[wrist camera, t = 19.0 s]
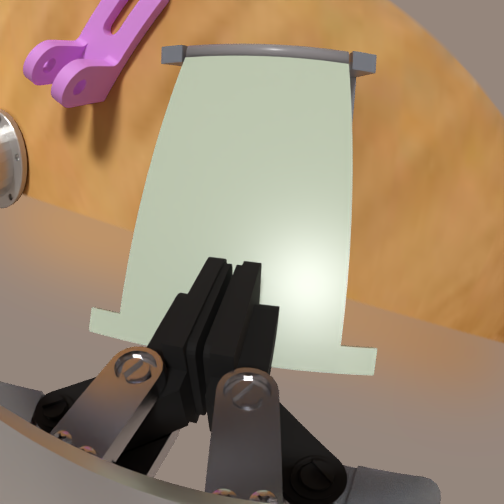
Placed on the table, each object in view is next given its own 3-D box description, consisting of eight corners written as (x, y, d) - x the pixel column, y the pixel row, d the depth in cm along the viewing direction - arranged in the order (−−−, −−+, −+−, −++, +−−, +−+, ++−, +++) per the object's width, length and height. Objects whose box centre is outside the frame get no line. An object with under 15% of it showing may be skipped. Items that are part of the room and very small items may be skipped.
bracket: (105, 100, 24) (54, 111, 18) (68, 74, 23) (17, 80, 17) (187, -20, 18) (150, -46, 12) (141, -40, 17) (98, -64, 11)
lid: (98, 330, 12) (86, 330, 11) (170, 56, 15) (165, 44, 14) (367, 372, 11) (375, 376, 10) (370, 65, 14) (374, 52, 13)
